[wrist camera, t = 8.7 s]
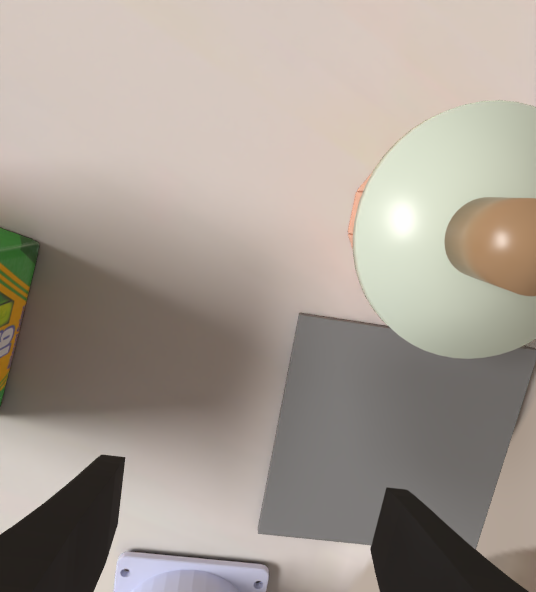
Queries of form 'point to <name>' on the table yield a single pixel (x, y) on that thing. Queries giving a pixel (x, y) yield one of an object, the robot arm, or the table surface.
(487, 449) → the mat
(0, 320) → the chalk box
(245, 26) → the table surface
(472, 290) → the lid
